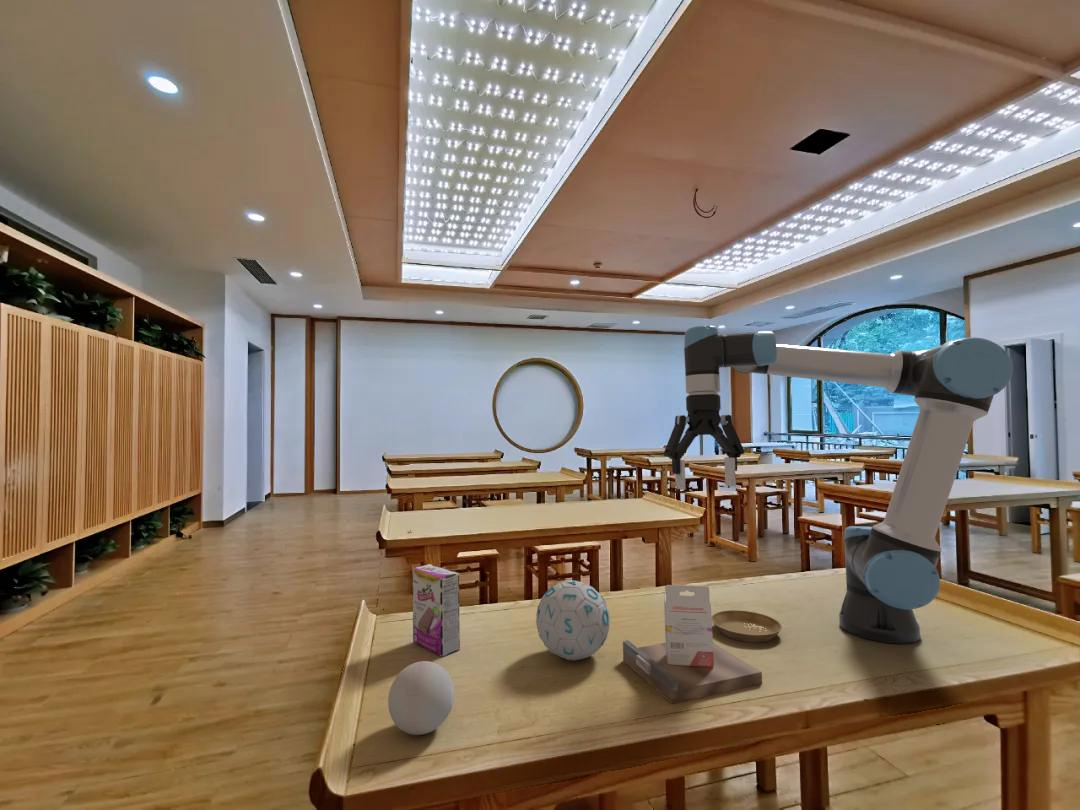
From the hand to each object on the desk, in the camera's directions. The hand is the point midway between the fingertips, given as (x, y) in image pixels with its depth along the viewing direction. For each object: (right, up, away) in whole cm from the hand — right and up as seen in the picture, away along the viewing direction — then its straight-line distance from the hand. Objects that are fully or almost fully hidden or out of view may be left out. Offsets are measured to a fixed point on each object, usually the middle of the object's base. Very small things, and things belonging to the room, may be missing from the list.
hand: (705, 487), depth 115 cm
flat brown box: (-9, -32, -19) cm, 38 cm away
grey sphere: (-56, -32, -36) cm, 74 cm away
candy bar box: (-60, -34, -6) cm, 69 cm away
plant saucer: (+9, -33, -1) cm, 34 cm away
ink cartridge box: (-9, -30, -19) cm, 37 cm away
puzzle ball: (-31, -33, -11) cm, 47 cm away
